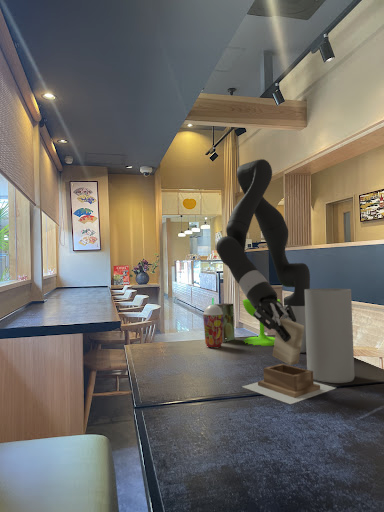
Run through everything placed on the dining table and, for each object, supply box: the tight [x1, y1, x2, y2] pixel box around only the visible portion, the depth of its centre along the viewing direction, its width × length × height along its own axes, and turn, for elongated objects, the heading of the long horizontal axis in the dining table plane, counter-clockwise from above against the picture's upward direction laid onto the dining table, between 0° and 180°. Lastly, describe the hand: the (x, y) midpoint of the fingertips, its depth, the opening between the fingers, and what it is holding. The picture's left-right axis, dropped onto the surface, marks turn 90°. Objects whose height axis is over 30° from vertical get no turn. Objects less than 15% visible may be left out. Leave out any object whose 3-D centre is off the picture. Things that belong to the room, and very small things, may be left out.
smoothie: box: [202, 297, 223, 348], centre depth 147 cm, size 8×8×20 cm
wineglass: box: [242, 298, 281, 347], centre depth 155 cm, size 16×16×18 cm
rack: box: [257, 363, 320, 398], centre depth 94 cm, size 10×12×4 cm
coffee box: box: [215, 302, 235, 343], centre depth 161 cm, size 9×6×16 cm
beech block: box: [271, 318, 304, 366], centre depth 94 cm, size 3×6×10 cm, turn 36°
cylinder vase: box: [305, 287, 355, 384], centre depth 103 cm, size 12×12×25 cm
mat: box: [241, 381, 336, 405], centre depth 94 cm, size 18×16×1 cm
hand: (293, 338), depth 92 cm, fingers closed on beech block, 3 cm apart
